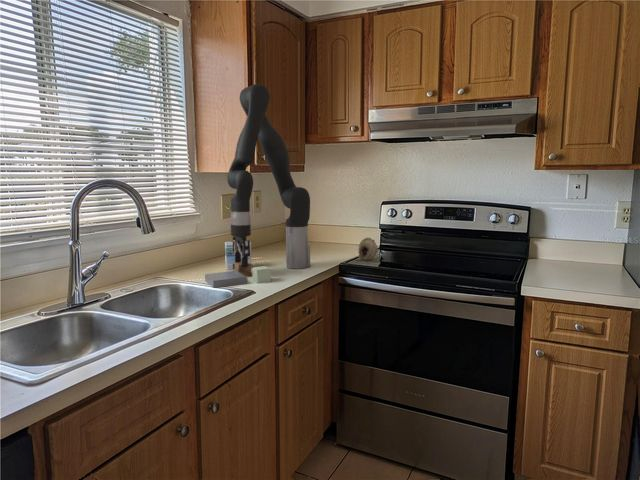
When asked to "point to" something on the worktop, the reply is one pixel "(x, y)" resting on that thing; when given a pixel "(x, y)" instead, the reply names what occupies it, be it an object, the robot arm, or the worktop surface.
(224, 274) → the slate base
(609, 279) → the worktop surface
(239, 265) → the walnut block
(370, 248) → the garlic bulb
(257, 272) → the green block
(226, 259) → the light bulb box
